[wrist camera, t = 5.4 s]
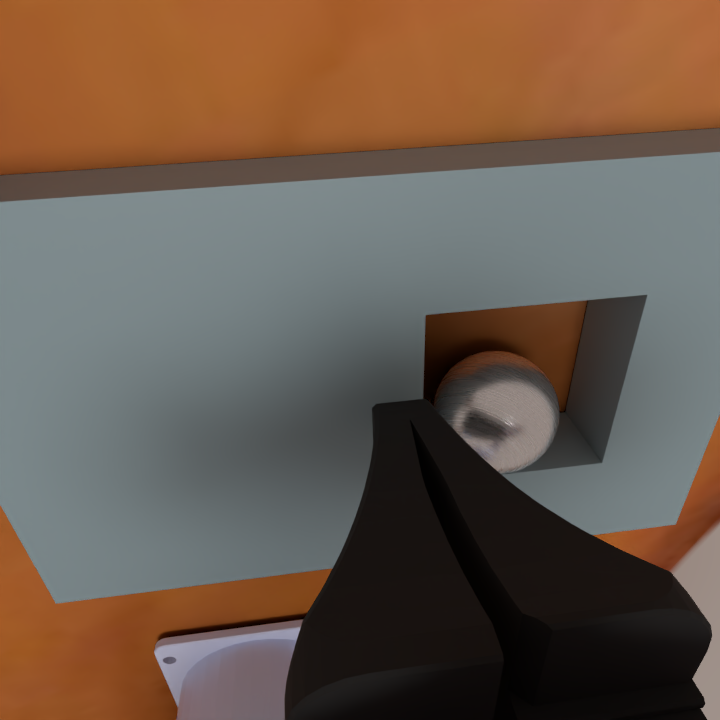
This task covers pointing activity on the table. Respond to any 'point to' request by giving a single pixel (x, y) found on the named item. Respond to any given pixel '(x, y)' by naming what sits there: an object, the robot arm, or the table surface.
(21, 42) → the table surface
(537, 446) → the ball
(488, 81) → the table surface
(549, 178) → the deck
